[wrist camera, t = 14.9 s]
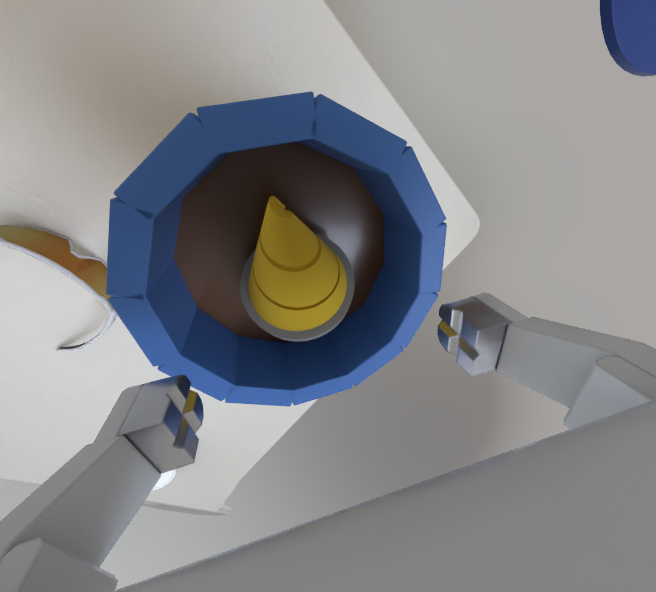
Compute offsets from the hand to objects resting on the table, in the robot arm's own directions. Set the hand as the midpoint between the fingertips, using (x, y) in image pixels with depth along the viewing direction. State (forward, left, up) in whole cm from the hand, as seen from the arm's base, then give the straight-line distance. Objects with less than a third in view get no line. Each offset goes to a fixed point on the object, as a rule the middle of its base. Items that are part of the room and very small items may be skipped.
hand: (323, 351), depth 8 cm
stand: (0, 0, -27) cm, 27 cm away
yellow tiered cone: (+1, -1, -8) cm, 8 cm away
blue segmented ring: (0, 0, -7) cm, 7 cm away
